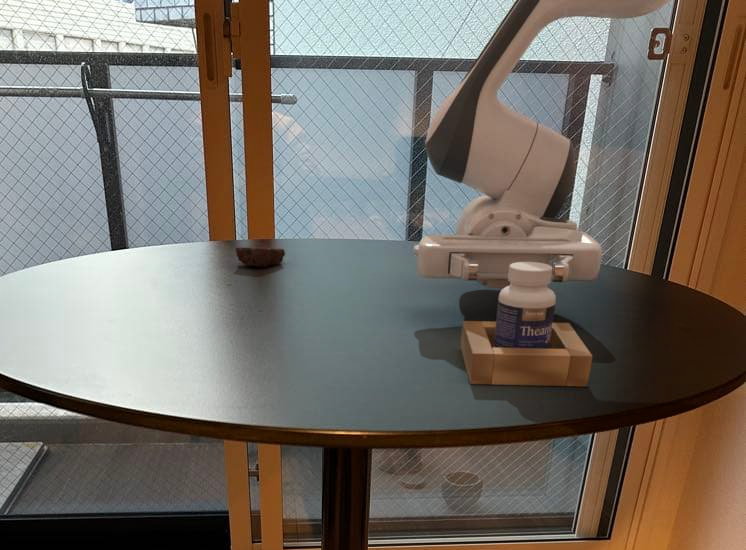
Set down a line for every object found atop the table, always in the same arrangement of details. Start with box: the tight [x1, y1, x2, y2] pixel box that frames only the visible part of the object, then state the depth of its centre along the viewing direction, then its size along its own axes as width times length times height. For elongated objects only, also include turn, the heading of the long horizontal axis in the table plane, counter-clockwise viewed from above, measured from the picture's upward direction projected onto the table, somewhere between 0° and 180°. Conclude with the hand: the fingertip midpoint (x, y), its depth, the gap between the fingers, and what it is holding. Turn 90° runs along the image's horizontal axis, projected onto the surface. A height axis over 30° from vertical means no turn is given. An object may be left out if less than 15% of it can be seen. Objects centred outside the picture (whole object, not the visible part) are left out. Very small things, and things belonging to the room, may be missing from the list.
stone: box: [235, 246, 286, 268], centre depth 119 cm, size 7×7×3 cm
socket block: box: [460, 320, 593, 388], centre depth 79 cm, size 11×11×3 cm
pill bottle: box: [493, 262, 557, 349], centre depth 78 cm, size 5×5×10 cm
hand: (516, 273), depth 84 cm, fingers open, 8 cm apart
